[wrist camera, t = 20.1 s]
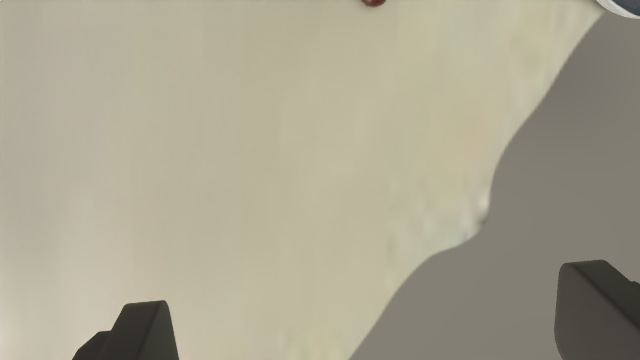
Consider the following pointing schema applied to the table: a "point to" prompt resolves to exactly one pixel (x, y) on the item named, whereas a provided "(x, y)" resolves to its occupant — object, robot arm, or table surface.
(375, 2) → the shoe brush
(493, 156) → the table surface
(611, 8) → the sneaker
